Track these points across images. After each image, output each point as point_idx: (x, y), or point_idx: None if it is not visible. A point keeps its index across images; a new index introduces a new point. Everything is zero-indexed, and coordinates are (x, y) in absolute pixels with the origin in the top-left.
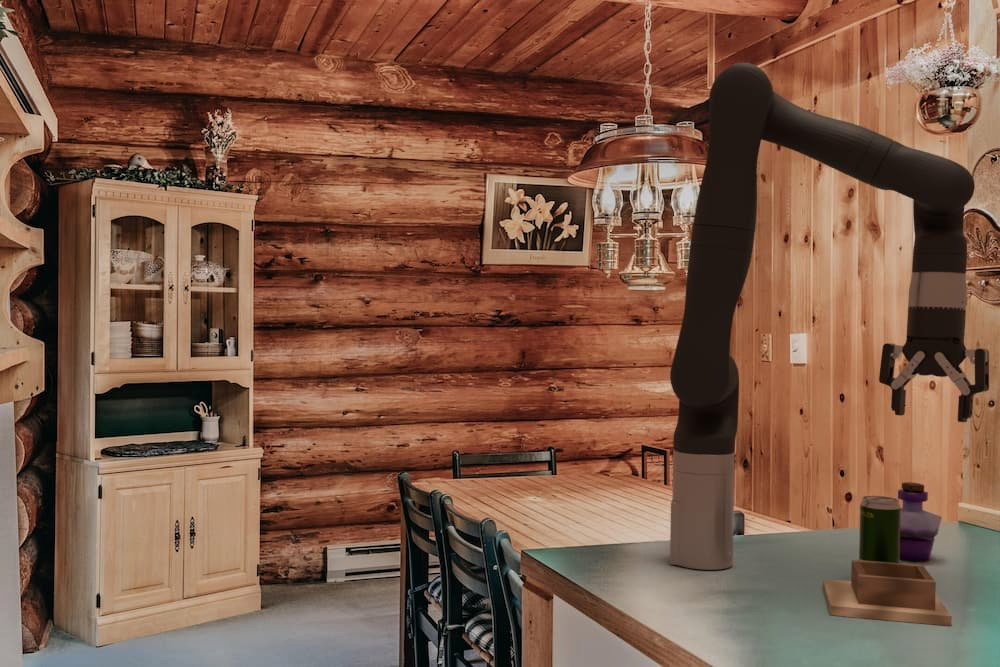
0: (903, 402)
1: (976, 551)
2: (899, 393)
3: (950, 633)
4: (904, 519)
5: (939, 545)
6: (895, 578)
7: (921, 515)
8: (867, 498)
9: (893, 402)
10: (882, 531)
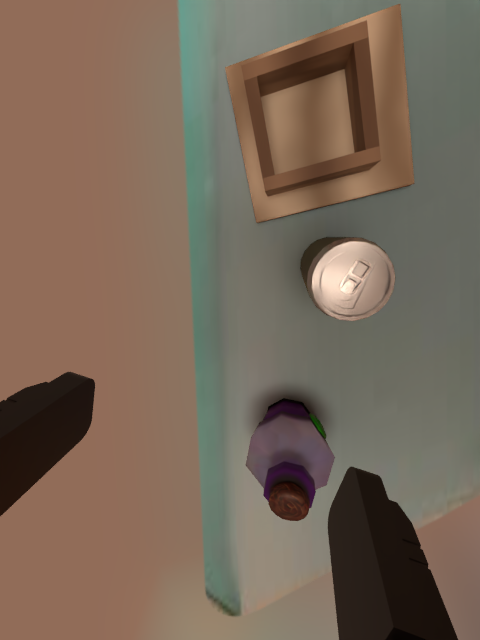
0: (344, 564)
1: (216, 483)
2: (395, 595)
3: (227, 33)
4: (300, 427)
5: (257, 498)
6: (303, 50)
7: (274, 444)
8: (382, 273)
9: (409, 546)
10: (335, 238)
